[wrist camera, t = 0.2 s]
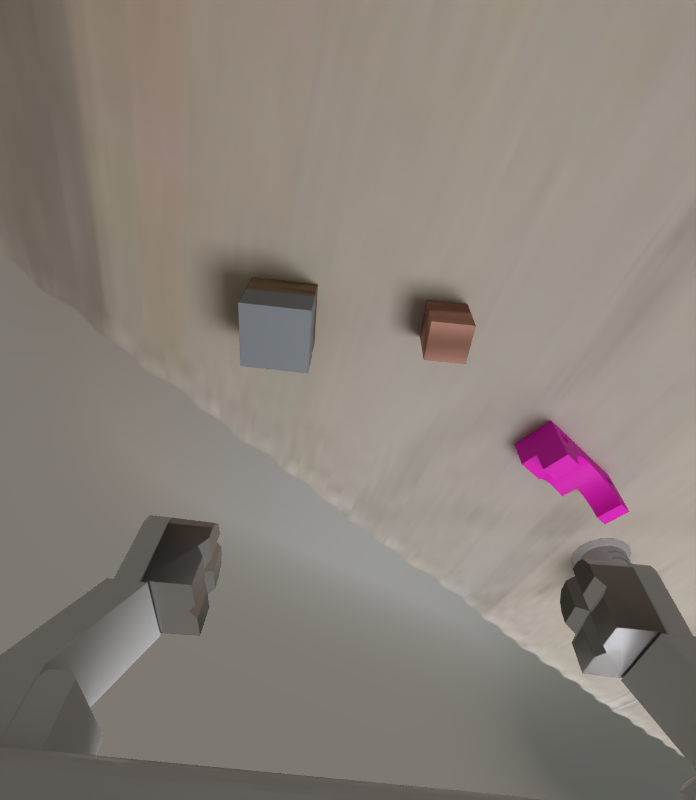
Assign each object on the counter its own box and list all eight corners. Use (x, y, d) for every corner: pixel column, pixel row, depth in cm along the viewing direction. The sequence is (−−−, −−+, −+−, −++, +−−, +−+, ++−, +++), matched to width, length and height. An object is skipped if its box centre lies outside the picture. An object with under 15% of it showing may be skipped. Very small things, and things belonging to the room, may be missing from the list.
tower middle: (246, 288, 55) (238, 302, 52) (315, 296, 55) (311, 310, 52) (247, 349, 59) (240, 365, 56) (311, 356, 60) (307, 373, 56)
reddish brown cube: (427, 300, 59) (431, 321, 54) (467, 304, 59) (475, 325, 54) (420, 336, 61) (423, 359, 56) (458, 340, 61) (465, 364, 56)
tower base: (252, 277, 58) (245, 289, 55) (318, 283, 58) (314, 296, 55) (254, 335, 63) (247, 350, 60) (314, 341, 63) (311, 356, 60)
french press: (618, 530, 80) (701, 689, 59) (643, 566, 85) (727, 725, 64) (562, 551, 84) (622, 708, 63) (589, 585, 88) (652, 740, 68)
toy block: (514, 443, 71) (527, 479, 65) (550, 419, 68) (567, 454, 62) (572, 494, 76) (589, 532, 70) (608, 474, 73) (629, 511, 67)
